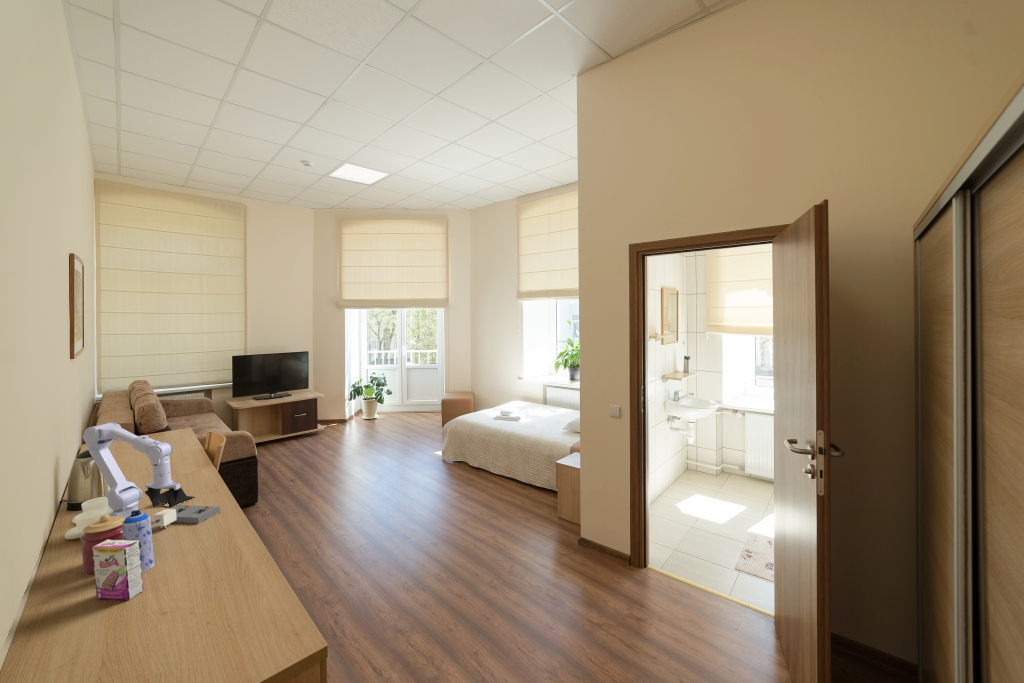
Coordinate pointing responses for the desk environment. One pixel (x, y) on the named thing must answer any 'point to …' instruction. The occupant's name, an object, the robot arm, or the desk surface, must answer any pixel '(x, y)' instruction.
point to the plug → (165, 517)
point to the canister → (99, 537)
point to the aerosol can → (140, 536)
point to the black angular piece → (180, 497)
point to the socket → (194, 513)
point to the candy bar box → (117, 569)
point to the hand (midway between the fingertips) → (164, 506)
